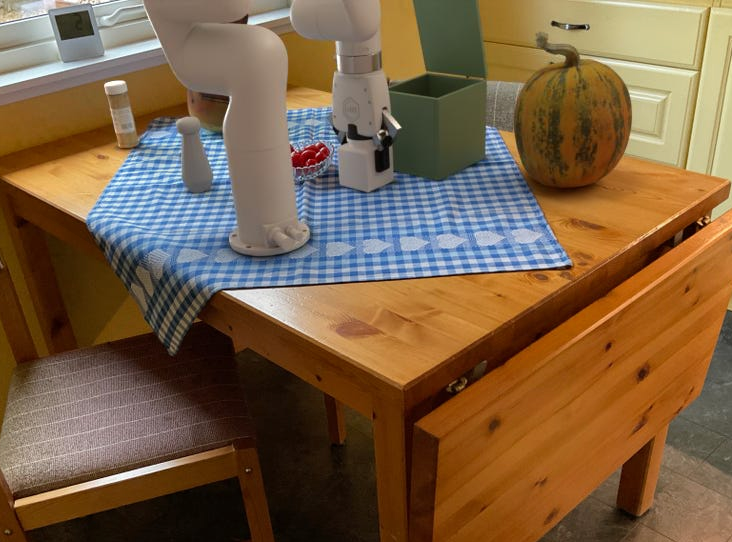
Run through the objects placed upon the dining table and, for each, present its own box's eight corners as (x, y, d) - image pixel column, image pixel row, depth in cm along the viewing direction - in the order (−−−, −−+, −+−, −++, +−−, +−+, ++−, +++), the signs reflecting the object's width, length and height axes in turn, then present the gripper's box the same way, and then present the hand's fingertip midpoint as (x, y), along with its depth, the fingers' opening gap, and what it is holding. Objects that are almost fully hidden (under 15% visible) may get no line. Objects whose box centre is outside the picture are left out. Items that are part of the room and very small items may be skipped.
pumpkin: (490, 187, 137) (494, 34, 124) (549, 156, 149) (558, 13, 135) (588, 209, 126) (604, 43, 113) (644, 174, 138) (664, 19, 124)
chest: (439, 181, 142) (438, 99, 134) (381, 167, 150) (377, 90, 142) (485, 157, 151) (487, 80, 143) (428, 146, 159) (427, 72, 151)
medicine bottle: (394, 181, 143) (391, 114, 137) (368, 193, 139) (364, 124, 133) (365, 174, 148) (361, 108, 141) (338, 185, 143) (333, 118, 137)
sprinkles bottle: (139, 141, 176) (126, 78, 169) (139, 147, 172) (125, 83, 165) (118, 144, 175) (104, 81, 168) (117, 150, 172) (103, 86, 164)
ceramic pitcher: (276, 136, 172) (258, -15, 156) (184, 142, 173) (157, -8, 157) (284, 112, 188) (268, -27, 172) (200, 117, 189) (176, -21, 173)
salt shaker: (208, 194, 144) (196, 123, 137) (179, 194, 145) (165, 123, 138) (219, 183, 149) (208, 113, 142) (191, 183, 150) (178, 114, 143)
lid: (474, -8, 132) (492, -23, 135) (410, -12, 140) (428, -25, 143) (485, 78, 143) (502, 64, 145) (425, 71, 151) (442, 57, 153)
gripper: (306, 63, 135) (316, 164, 145) (384, 73, 125) (389, 181, 134) (336, 54, 140) (344, 152, 149) (414, 63, 129) (417, 168, 139)
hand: (365, 165), depth 142 cm, fingers closed on medicine bottle, 7 cm apart
